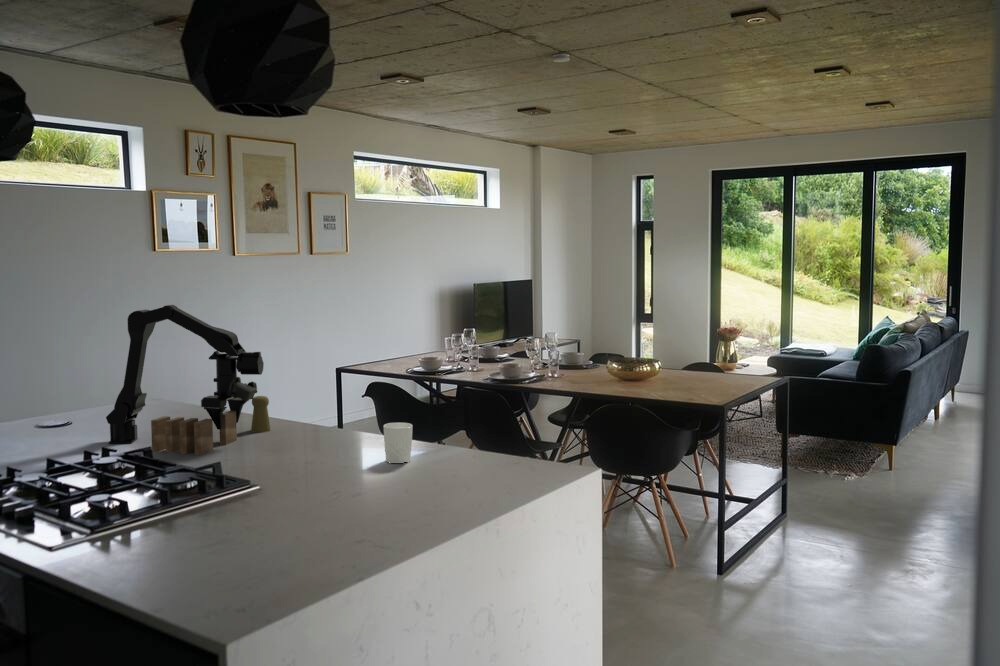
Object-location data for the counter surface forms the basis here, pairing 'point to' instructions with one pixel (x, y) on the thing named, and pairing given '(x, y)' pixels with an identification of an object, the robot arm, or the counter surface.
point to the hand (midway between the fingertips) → (227, 426)
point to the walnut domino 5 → (228, 428)
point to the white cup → (398, 442)
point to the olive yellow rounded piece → (260, 414)
